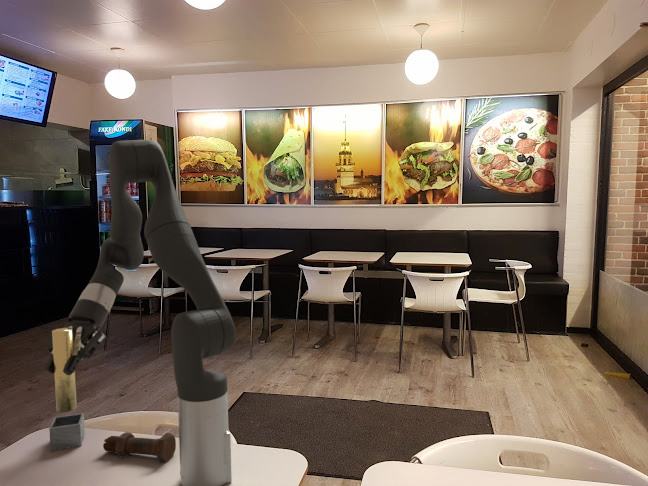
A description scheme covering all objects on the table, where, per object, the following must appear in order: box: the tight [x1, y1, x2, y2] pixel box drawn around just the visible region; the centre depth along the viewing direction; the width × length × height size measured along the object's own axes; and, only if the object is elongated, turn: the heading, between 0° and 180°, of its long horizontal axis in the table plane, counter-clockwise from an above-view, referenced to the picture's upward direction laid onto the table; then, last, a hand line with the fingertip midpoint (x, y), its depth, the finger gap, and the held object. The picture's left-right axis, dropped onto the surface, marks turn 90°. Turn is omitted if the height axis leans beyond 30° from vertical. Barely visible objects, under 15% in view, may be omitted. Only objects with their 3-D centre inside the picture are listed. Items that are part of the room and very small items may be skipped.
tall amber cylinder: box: [52, 327, 78, 414], centre depth 107 cm, size 4×4×18 cm
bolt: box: [102, 431, 177, 464], centre depth 102 cm, size 6×5×15 cm
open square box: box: [48, 412, 86, 452], centre depth 108 cm, size 6×6×5 cm
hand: (58, 372), depth 105 cm, fingers closed on tall amber cylinder, 4 cm apart
